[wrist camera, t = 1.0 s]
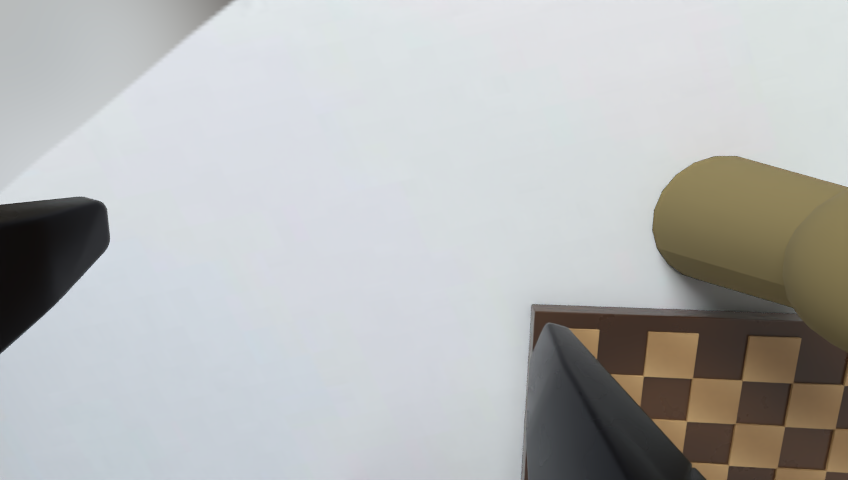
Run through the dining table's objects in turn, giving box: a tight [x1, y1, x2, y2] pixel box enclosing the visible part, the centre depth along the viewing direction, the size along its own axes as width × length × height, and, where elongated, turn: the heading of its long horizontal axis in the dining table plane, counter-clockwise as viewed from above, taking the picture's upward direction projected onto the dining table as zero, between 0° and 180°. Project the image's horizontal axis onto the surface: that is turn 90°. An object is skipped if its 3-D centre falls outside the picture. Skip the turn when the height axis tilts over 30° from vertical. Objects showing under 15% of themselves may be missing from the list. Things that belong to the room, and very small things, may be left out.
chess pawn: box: [652, 156, 848, 352], centre depth 17 cm, size 6×6×11 cm
